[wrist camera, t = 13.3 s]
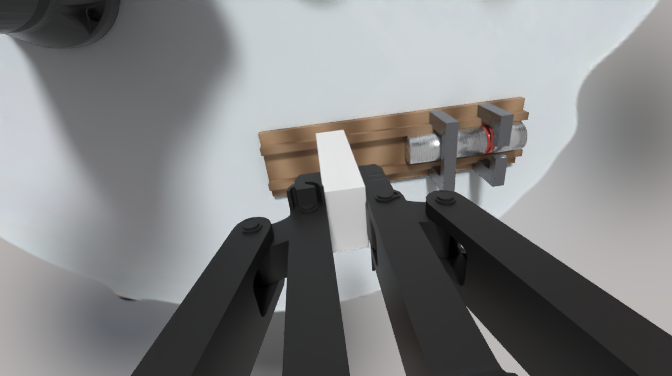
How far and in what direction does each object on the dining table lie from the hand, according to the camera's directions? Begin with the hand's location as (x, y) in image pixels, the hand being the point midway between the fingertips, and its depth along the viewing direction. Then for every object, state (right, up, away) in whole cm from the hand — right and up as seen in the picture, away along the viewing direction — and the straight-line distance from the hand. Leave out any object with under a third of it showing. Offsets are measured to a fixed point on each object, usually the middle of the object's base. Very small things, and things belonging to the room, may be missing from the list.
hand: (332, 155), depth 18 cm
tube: (+18, +5, +30) cm, 36 cm away
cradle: (+9, +4, +31) cm, 32 cm away
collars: (+18, +5, +30) cm, 36 cm away
